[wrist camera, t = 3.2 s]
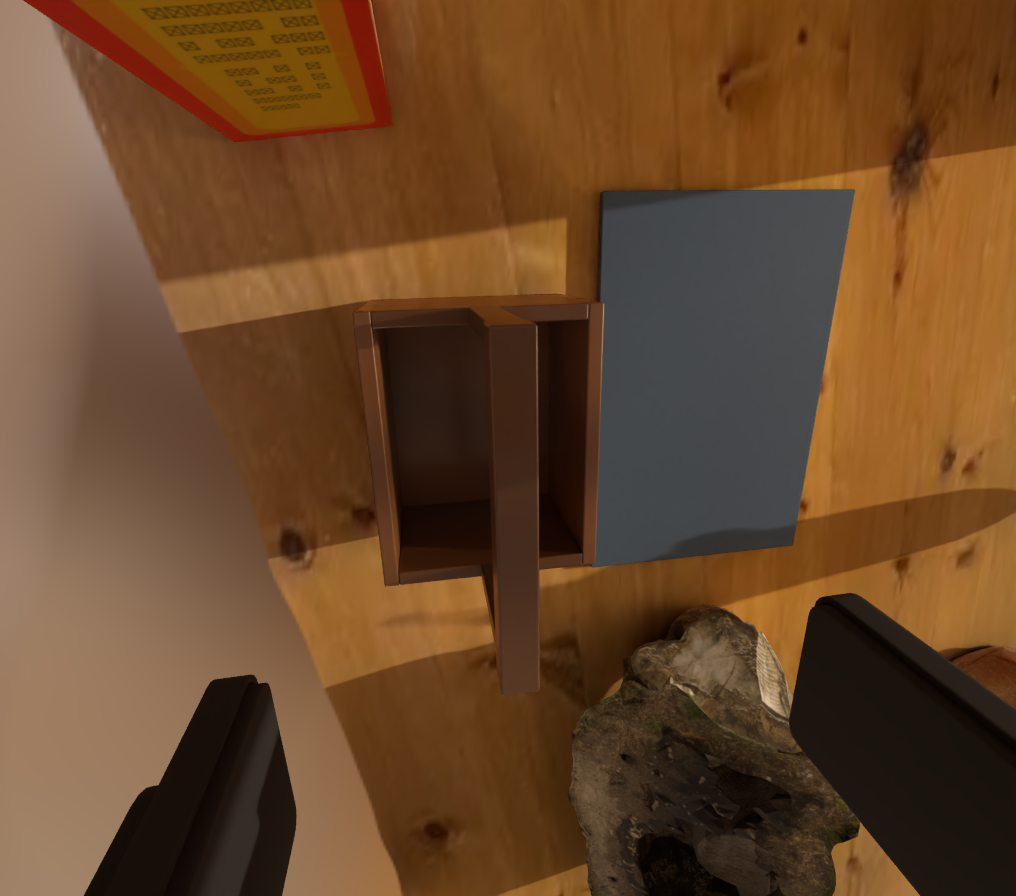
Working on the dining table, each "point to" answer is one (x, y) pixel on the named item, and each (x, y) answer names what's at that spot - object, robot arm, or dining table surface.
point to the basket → (485, 448)
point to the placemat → (711, 365)
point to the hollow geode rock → (703, 773)
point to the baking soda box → (245, 59)
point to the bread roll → (992, 670)
